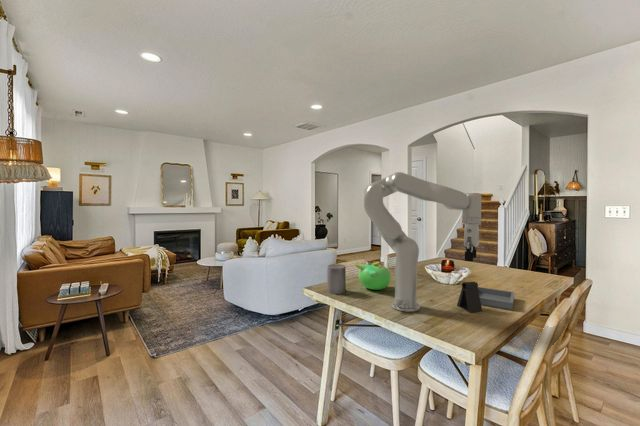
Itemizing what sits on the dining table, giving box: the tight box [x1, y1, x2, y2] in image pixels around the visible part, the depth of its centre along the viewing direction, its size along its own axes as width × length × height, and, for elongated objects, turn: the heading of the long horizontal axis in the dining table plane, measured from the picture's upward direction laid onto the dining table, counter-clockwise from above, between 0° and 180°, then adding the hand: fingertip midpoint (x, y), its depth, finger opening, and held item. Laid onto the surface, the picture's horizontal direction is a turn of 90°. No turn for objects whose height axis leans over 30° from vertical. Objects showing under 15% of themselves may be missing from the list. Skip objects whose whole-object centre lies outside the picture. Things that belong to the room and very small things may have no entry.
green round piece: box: [353, 261, 392, 291], centre depth 165 cm, size 18×17×15 cm
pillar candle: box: [326, 263, 347, 295], centre depth 160 cm, size 10×10×15 cm
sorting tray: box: [478, 286, 515, 312], centre depth 147 cm, size 20×18×4 cm
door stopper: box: [456, 281, 484, 313], centre depth 136 cm, size 9×6×12 cm, turn 14°
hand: (470, 259), depth 135 cm, fingers open, 9 cm apart
